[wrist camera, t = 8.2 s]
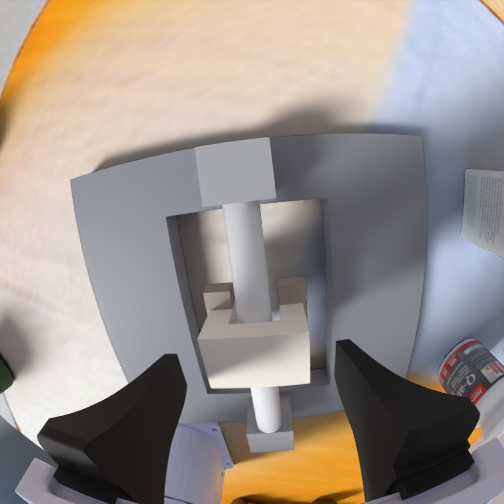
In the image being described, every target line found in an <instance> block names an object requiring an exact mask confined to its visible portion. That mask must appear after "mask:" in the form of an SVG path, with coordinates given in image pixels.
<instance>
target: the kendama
mask: <svg viewBox="0 0 504 504" xmlns="http://www.w3.org/2000/svg"><path fill="white" fill-rule="evenodd" d="M231 504H248V503H246V502H245V501H244V500H243V499H241V498H238V499H235V500H234V501H233V502H232V503H231ZM312 504H337V502H335V501H333V500H331V499H318V500H316V501H314V502H313V503H312Z"/></svg>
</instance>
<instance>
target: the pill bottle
mask: <svg viewBox="0 0 504 504" xmlns="http://www.w3.org/2000/svg"><path fill="white" fill-rule="evenodd" d="M438 379H439V382H440V384H441V385H442V387H443V388H444V389H445V391H446V392H447V394H451V395H457V396H464V397H469V398H470V399H471V401H472V402H473V403H474V405H475V406H476V407H477V409H478V410H479V412H480V418H479V421H478V423H477V425H476V427H475V428H481V429H482V430H481V436H482V437H483V439H484V440H485V441H486V443H487V442H489V441H490V440H492V439H493V438H496V437H497V439H498V438H499V437H500V436H501V435H502V434H504V366H503V365H502V364H501V363H500V362H499V361H498V360H497V359H496V358H495V357H494V356H493V355H492V354H491V353H490V352H489V351H488V350H487V349H486V348H485V347H484V346H483V345H482V344H481V343H480V342H479V341H477V340H476V339H467V340H465V341H463V342H461V343H459V344H458V345H457V346H456V347H454V348H453V349H452V350H451V351H450V353H449V354H448V355H447V356H446V358H445V359H444V361H443V362H442V364H441V367H440V369H439V373H438Z"/></svg>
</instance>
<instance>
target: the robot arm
mask: <svg viewBox="0 0 504 504" xmlns="http://www.w3.org/2000/svg"><path fill="white" fill-rule="evenodd" d="M334 376H335V381H336V385H337V389H338V393H339V396H340V399H341V401H342V404H343V407H344V409H345V412H346V415H347V417H348V420H349V423H350V425H351V428H352V431H353V434H354V438H355V442H356V447H357V451H358V456H359V462H360V467H361V473H362V480H363V487H364V496H365V503H361V504H488V503H490V502H491V501H492V500H493V499H494V498H496V497H497V496H498V495H499V494H500V493H502V492H503V491H504V448H503V446H502V445H501V443H500V442H499V440H498V439H497V437H496V438H493V439H492V440H490V441H489V442H487V443H486V444H484V445H482V446H481V447H479V448H478V449H476V450H475V451H474V452H473V453H472V454H470V453H469V451H468V449H469V448H470V444H469V442H468V440H467V439H468V438H469V436H470V435H471V433H472V432H473V430H474V429H475V427H476V425H477V423H478V421H479V418H480V412H479V410H478V409H477V407H476V406H475V405H474V403H473V402H472V401H471V399H470V398H469V397H464V396H457V395H451V394H446V393H442V392H438V391H435V390H432V389H428V388H426V387H423V386H420V385H418V384H415V383H413V382H411V381H409V380H407V379H405V378H403V377H401V376H399V375H397V374H395V373H394V372H392V371H390V370H389V369H387V368H386V367H384V366H383V365H381V364H380V363H378V362H377V361H376V360H374V359H373V358H372V357H371V356H369V355H368V354H367V353H366V352H364V351H363V350H362V349H361V348H359V347H358V346H357V345H356V344H355V343H354V342H352V341H351V340H350V339H344V340H338V341H336V351H335V369H334ZM187 386H188V385H187V382H186V379H185V377H184V374H183V371H182V367H181V364H180V361H179V358H178V355H177V354H164V355H163V356H161V357H160V358H159V359H158V360H157V361H156V362H154V363H153V364H152V365H151V366H150V367H149V368H147V369H146V370H145V371H144V372H143V373H142V374H140V375H139V376H138V377H137V378H135V379H134V380H133V381H131V382H130V383H129V384H127V385H126V386H125V387H123V388H122V389H121V390H119V391H118V392H116V393H115V394H113V395H111V396H109V397H108V398H106V399H104V400H102V401H100V402H98V403H96V404H94V405H92V406H90V407H87V408H85V409H82V410H80V411H77V412H74V413H70V414H67V415H63V416H58V417H54V418H49V419H48V421H47V422H46V423H45V425H44V426H43V428H42V429H41V431H40V432H39V434H38V435H37V439H38V441H39V443H40V445H41V446H42V447H43V449H44V450H45V451H46V452H47V453H48V454H49V455H50V456H51V458H52V459H53V460H54V461H55V462H56V463H57V464H58V465H59V466H58V468H57V470H56V469H55V468H54V467H52V466H50V465H48V464H46V463H44V462H43V461H41V460H39V459H37V458H34V460H33V462H32V463H31V465H30V467H29V468H28V470H27V471H26V473H25V474H24V476H23V478H22V479H21V481H20V483H19V485H18V486H17V488H16V490H15V492H16V493H17V494H18V495H19V496H21V497H22V498H23V499H24V500H26V501H27V502H28V503H29V504H221V498H222V490H223V482H224V474H225V469H233V468H234V464H233V462H232V459H231V456H230V454H229V451H228V448H227V446H226V443H225V440H224V437H223V434H222V432H221V429H220V426H219V424H218V423H217V422H194V421H179V419H180V416H181V413H182V410H183V407H184V404H185V399H186V393H187Z"/></svg>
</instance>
